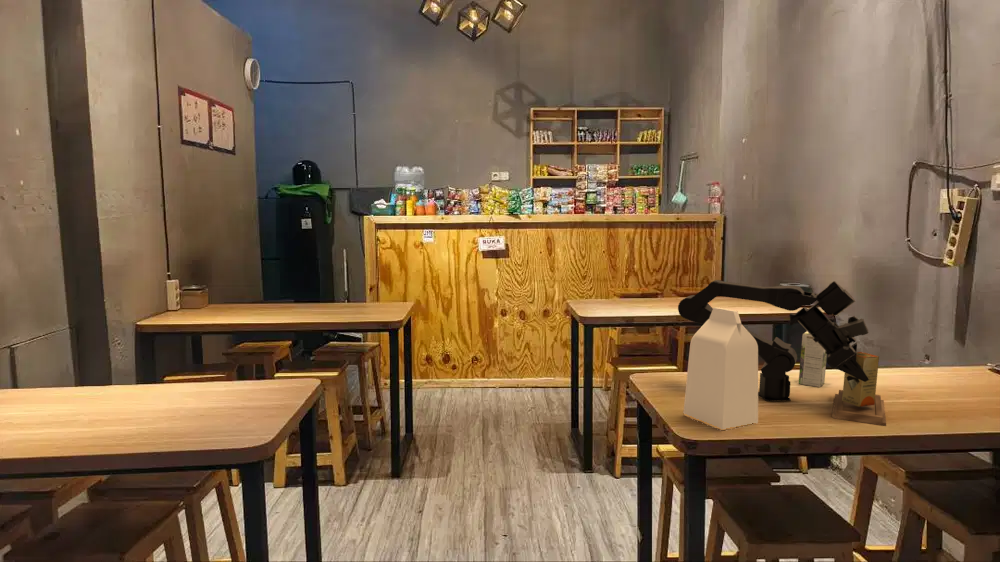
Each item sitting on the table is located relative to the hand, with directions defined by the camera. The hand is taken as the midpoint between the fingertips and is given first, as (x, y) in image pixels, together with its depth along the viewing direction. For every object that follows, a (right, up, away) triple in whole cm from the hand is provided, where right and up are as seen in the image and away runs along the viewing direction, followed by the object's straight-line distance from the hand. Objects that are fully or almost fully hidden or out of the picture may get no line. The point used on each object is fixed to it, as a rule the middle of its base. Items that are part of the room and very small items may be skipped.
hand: (867, 377), depth 160 cm
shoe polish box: (-1, -7, +2) cm, 7 cm away
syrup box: (-2, -6, +24) cm, 25 cm away
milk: (-38, -9, -6) cm, 39 cm away
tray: (-1, -8, +2) cm, 8 cm away
